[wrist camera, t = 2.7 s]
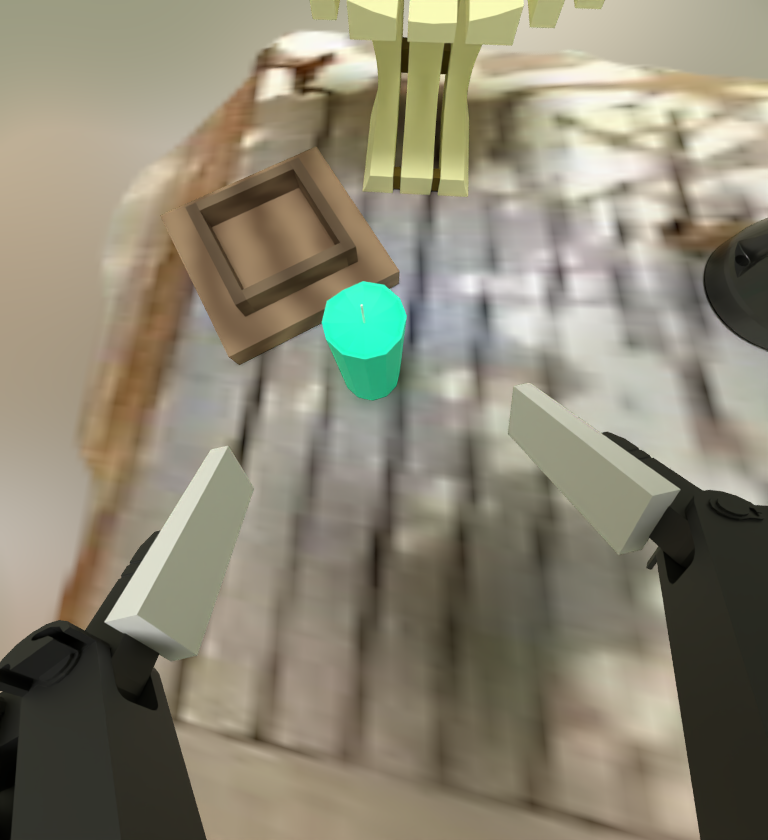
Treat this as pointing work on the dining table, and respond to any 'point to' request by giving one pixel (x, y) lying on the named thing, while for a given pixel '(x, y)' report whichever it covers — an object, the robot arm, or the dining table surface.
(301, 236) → the brown square tray
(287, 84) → the dining table surface
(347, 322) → the candle
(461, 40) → the slatted curved stool
